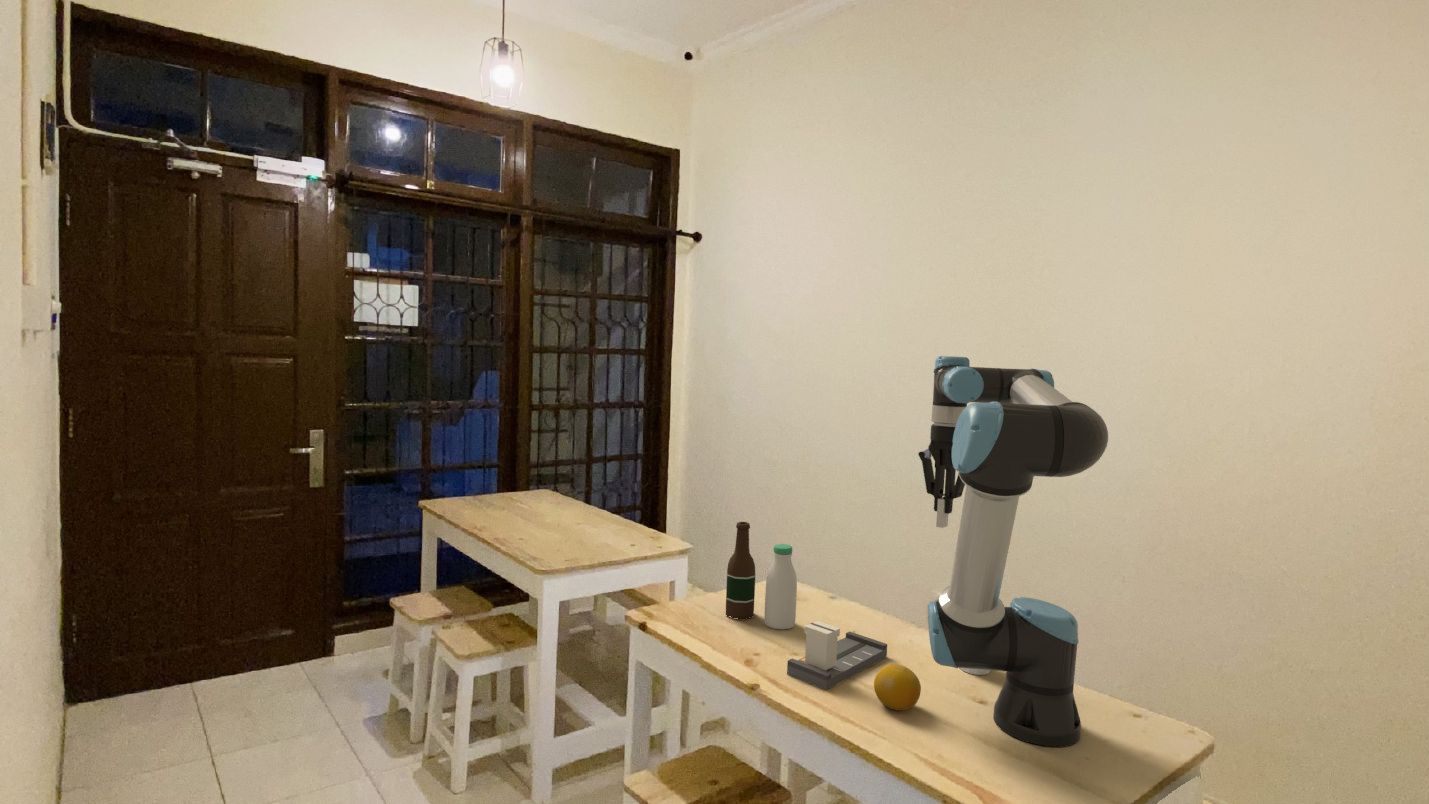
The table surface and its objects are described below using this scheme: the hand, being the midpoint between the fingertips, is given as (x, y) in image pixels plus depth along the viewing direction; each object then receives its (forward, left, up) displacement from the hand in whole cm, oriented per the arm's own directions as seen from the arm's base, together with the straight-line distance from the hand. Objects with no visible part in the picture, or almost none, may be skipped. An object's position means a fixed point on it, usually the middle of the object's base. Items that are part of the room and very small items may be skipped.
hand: (941, 526), depth 175 cm
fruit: (-26, +19, -30) cm, 44 cm away
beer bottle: (+24, +42, -30) cm, 57 cm away
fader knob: (-12, +30, -27) cm, 42 cm away
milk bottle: (+17, +33, -30) cm, 47 cm away
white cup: (-10, -5, -30) cm, 32 cm away
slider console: (-7, +25, -29) cm, 39 cm away
